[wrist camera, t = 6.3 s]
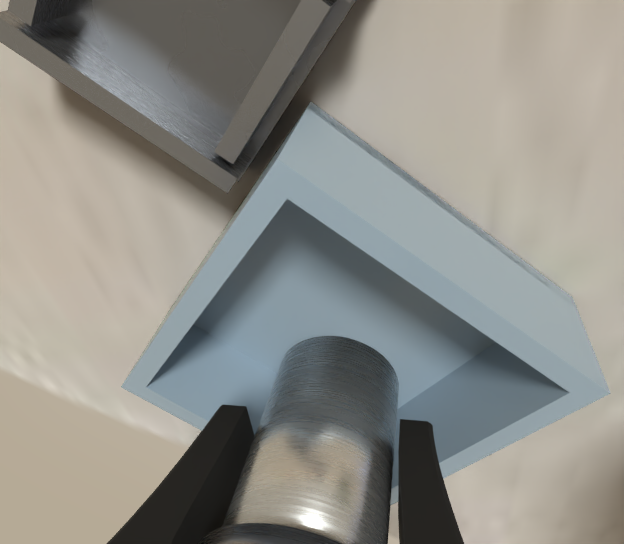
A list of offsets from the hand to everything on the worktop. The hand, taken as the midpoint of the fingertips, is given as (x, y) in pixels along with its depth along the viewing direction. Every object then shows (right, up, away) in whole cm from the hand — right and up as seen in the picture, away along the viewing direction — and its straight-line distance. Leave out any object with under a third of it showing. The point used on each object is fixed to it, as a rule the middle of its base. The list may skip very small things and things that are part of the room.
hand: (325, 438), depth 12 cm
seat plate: (-3, +10, -1) cm, 11 cm away
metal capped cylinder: (0, +1, +1) cm, 2 cm away
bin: (+1, +3, +4) cm, 5 cm away
